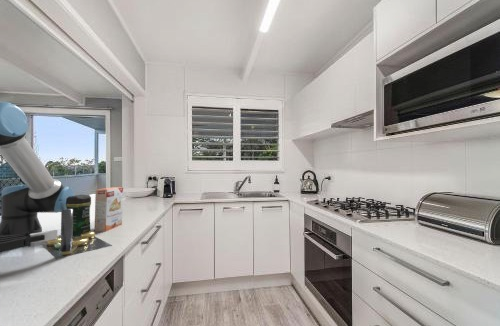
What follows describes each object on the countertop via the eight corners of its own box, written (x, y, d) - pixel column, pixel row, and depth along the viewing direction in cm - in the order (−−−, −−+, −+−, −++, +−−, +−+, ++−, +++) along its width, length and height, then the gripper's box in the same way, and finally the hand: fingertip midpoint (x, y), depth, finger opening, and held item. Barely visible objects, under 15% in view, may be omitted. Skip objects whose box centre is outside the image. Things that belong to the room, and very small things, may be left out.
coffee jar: (78, 238, 101) (79, 196, 102) (60, 238, 102) (61, 196, 102) (94, 232, 111) (94, 193, 111) (78, 232, 111) (78, 193, 112)
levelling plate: (41, 247, 90) (41, 239, 90) (92, 237, 104) (92, 230, 104) (56, 261, 77) (56, 252, 77) (112, 248, 90) (112, 240, 90)
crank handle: (70, 242, 93) (70, 203, 93) (90, 240, 96) (91, 202, 96) (51, 257, 77) (52, 210, 77) (77, 254, 80) (77, 209, 80)
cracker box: (106, 233, 109) (107, 189, 110) (93, 233, 109) (94, 189, 110) (123, 226, 123) (123, 186, 124) (111, 226, 123) (112, 186, 124)
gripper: (-61, 262, 63) (51, 241, 81) (-64, 277, 55) (61, 249, 73) (-60, 235, 63) (52, 220, 81) (-63, 245, 55) (62, 226, 73)
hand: (56, 234), depth 77 cm, fingers closed
